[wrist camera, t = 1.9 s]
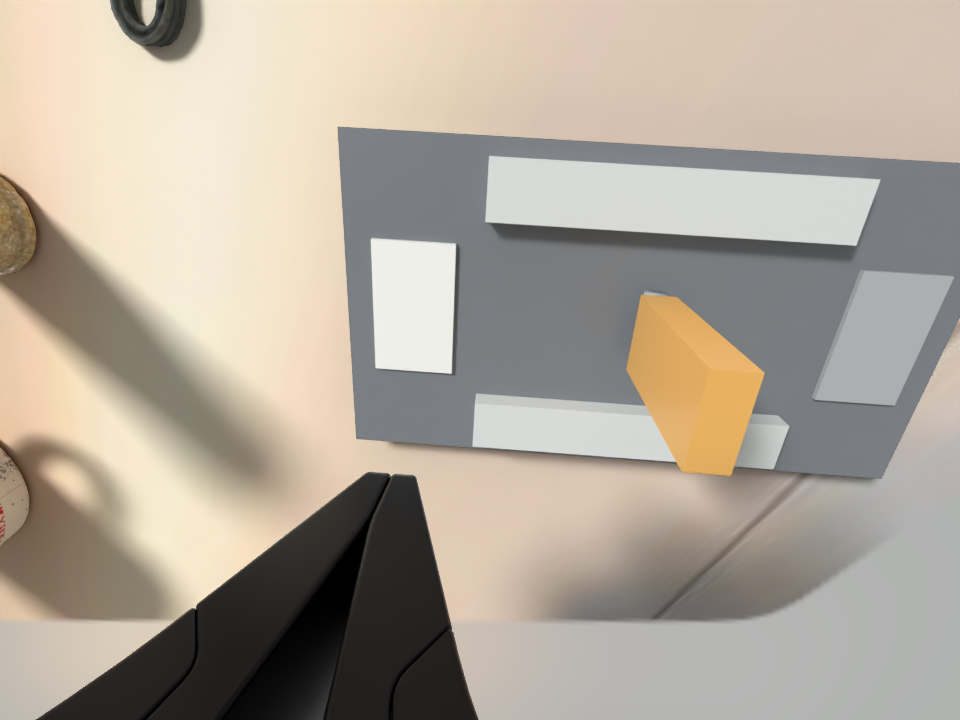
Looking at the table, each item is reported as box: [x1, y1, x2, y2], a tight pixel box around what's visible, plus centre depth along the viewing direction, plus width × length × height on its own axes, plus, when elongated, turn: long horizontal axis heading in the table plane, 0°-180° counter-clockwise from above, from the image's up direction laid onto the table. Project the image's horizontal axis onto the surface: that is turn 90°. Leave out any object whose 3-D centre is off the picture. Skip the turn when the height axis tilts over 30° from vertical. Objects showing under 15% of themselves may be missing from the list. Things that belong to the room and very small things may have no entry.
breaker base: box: [338, 127, 960, 479], centre depth 18 cm, size 22×12×2 cm, turn 87°
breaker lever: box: [626, 290, 765, 476], centre depth 14 cm, size 1×3×7 cm, turn 177°
